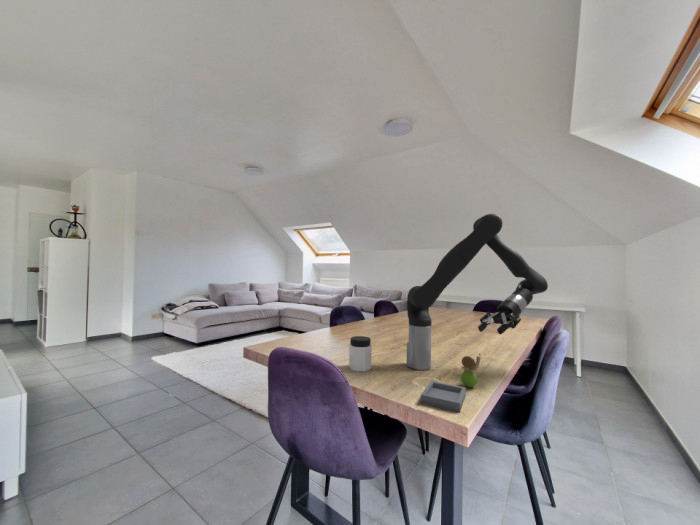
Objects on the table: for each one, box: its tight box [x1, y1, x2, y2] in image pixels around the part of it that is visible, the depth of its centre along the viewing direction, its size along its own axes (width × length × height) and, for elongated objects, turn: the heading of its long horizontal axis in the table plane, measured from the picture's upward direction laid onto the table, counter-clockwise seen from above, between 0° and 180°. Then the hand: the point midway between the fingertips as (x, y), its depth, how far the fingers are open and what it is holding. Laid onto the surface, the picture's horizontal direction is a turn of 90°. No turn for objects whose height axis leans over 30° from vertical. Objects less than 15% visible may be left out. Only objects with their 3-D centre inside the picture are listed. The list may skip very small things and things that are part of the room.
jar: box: [348, 335, 373, 373], centre depth 119 cm, size 9×8×12 cm
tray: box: [420, 380, 467, 413], centre depth 92 cm, size 11×13×2 cm
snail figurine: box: [460, 352, 482, 388], centre depth 102 cm, size 5×6×12 cm
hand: (488, 331), depth 111 cm, fingers open, 8 cm apart
